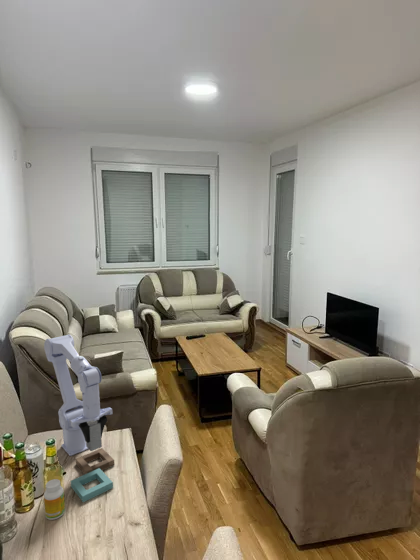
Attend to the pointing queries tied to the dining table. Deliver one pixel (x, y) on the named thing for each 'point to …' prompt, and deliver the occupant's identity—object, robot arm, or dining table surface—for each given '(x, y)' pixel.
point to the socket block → (101, 453)
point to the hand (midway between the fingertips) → (93, 439)
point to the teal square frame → (94, 491)
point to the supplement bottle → (54, 500)
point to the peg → (94, 435)
